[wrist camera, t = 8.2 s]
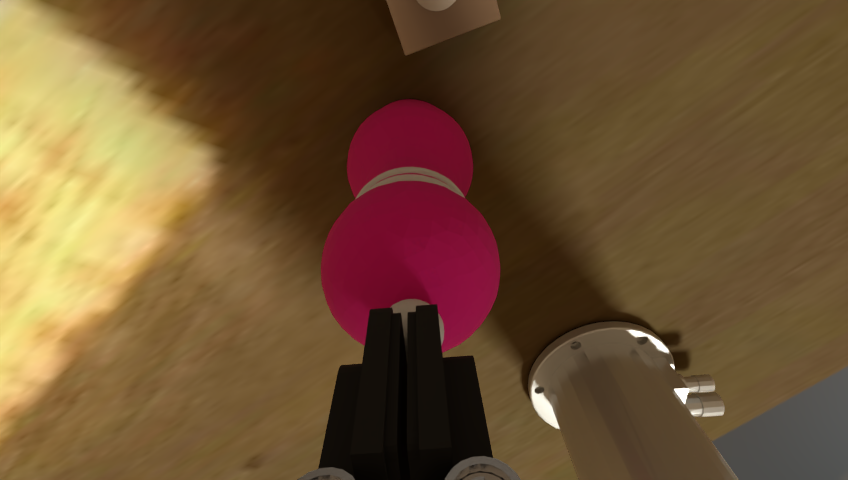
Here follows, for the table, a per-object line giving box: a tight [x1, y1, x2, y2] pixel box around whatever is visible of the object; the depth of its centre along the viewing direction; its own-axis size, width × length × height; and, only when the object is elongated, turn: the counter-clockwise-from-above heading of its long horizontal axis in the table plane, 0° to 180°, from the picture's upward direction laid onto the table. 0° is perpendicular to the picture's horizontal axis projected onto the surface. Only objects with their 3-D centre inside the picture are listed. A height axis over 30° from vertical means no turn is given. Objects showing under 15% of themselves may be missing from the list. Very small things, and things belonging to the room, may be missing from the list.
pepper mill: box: [321, 99, 500, 359], centre depth 20 cm, size 7×7×20 cm
